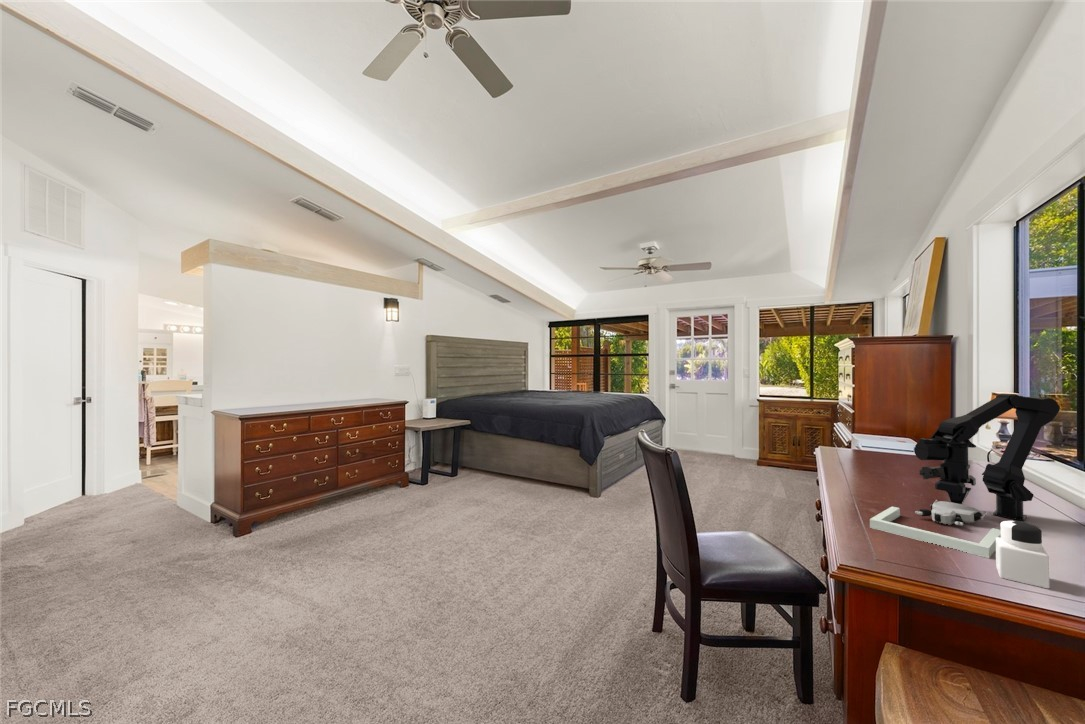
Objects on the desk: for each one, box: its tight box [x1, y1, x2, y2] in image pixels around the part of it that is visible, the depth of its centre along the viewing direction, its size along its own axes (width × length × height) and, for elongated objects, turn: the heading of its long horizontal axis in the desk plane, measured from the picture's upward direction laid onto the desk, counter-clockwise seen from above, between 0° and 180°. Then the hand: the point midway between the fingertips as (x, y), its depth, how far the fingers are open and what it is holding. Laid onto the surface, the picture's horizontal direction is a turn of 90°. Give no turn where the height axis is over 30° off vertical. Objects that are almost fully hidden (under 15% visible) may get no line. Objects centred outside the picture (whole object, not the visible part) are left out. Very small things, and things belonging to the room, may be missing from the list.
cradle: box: [869, 506, 1001, 559], centre depth 117 cm, size 20×24×2 cm
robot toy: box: [914, 499, 989, 527], centre depth 127 cm, size 12×4×15 cm
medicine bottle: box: [995, 520, 1050, 590], centre depth 93 cm, size 7×7×12 cm
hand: (956, 509), depth 132 cm, fingers closed
